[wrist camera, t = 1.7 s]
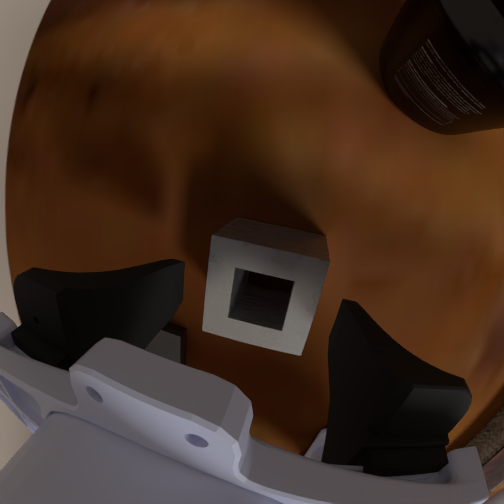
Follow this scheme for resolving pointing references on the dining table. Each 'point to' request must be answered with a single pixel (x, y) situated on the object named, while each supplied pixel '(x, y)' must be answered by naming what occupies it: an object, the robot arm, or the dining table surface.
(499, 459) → the hardback book
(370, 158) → the dining table surface
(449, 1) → the supplement bottle
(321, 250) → the gray square hollow block
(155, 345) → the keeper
